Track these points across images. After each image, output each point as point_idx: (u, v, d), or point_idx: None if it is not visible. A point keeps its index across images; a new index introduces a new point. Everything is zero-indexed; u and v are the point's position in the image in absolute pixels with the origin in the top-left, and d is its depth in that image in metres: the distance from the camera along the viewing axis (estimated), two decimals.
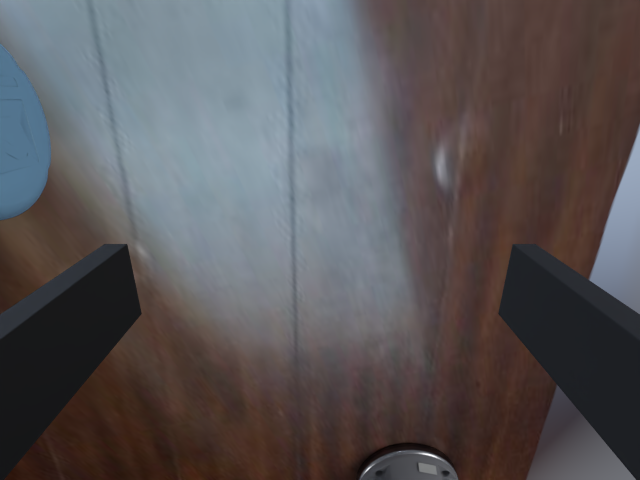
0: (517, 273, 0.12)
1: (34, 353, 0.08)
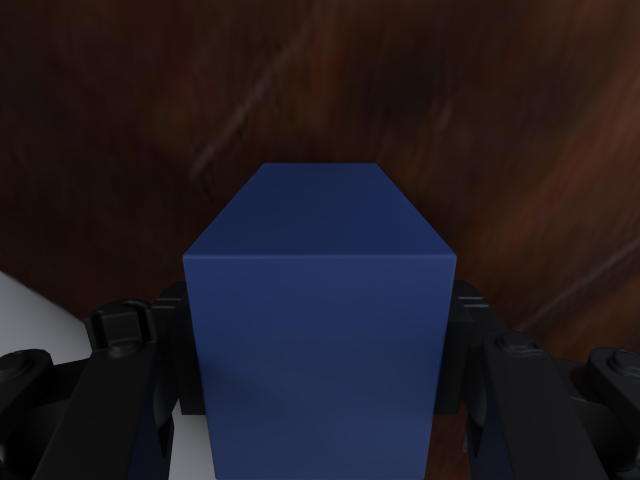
0: None
1: None
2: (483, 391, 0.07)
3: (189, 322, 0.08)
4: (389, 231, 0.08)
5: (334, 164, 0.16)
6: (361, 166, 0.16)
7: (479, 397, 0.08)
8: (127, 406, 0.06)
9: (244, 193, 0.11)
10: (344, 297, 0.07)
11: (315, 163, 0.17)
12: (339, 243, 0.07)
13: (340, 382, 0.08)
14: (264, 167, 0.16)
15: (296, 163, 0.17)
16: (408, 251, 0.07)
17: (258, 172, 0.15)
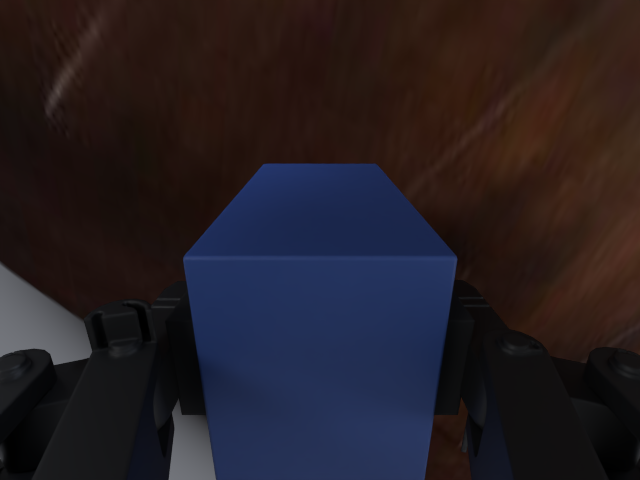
0: None
1: None
2: (483, 391, 0.07)
3: (189, 322, 0.08)
4: (390, 232, 0.08)
5: (334, 165, 0.16)
6: (361, 167, 0.16)
7: (479, 397, 0.08)
8: (127, 406, 0.06)
9: (244, 194, 0.11)
10: (345, 299, 0.07)
11: (315, 164, 0.17)
12: (339, 245, 0.07)
13: (341, 383, 0.08)
14: (264, 168, 0.16)
15: (296, 164, 0.17)
16: (408, 252, 0.07)
17: (258, 173, 0.15)
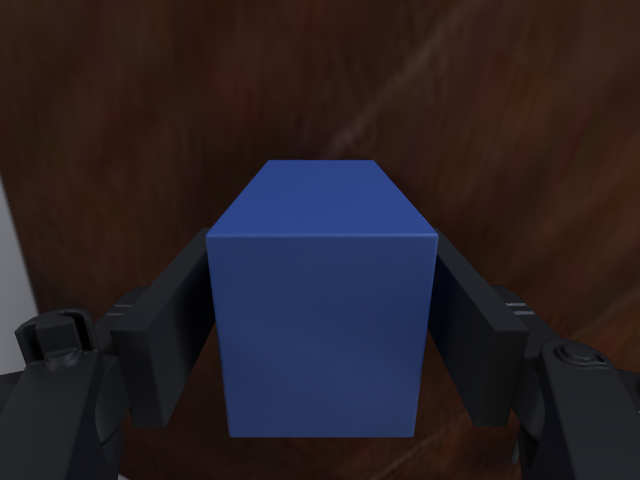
0: None
1: (183, 312, 0.10)
2: (539, 402, 0.07)
3: (134, 331, 0.08)
4: (382, 215, 0.09)
5: (334, 161, 0.18)
6: (359, 163, 0.17)
7: (534, 408, 0.07)
8: (64, 418, 0.06)
9: (253, 186, 0.13)
10: (343, 271, 0.08)
11: (316, 160, 0.18)
12: (338, 226, 0.09)
13: (340, 346, 0.09)
14: (269, 163, 0.17)
15: (299, 160, 0.18)
16: (397, 231, 0.08)
17: (264, 168, 0.16)
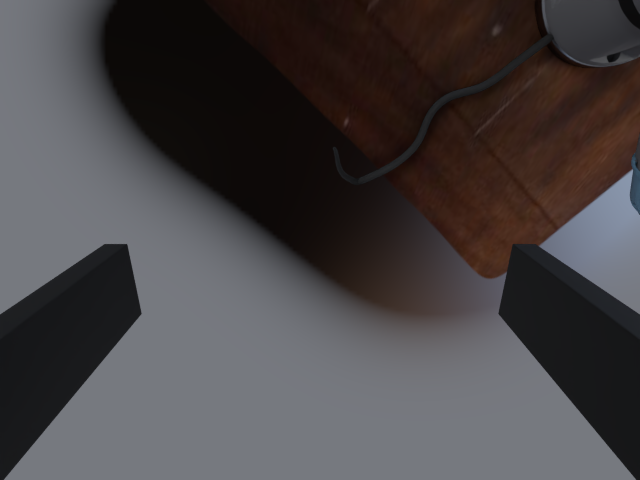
0: (517, 273, 0.12)
1: (34, 353, 0.08)
2: None
3: None
4: None
5: None
6: None
7: None
8: None
9: None
10: None
11: None
12: None
13: None
14: None
15: None
16: None
17: None
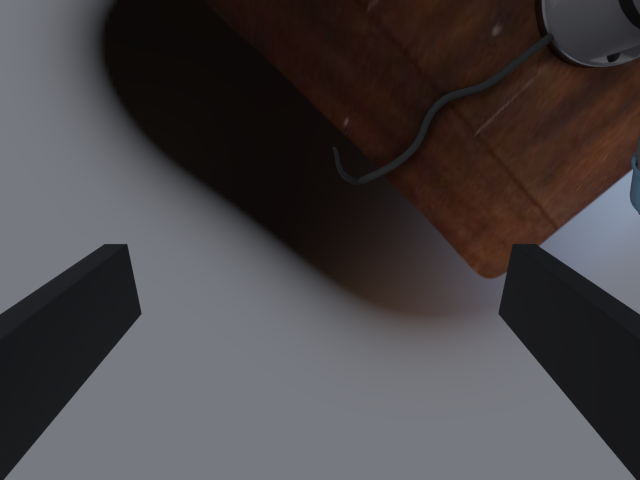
0: (517, 273, 0.12)
1: (34, 353, 0.08)
2: None
3: None
4: None
5: None
6: None
7: None
8: None
9: None
10: None
11: None
12: None
13: None
14: None
15: None
16: None
17: None
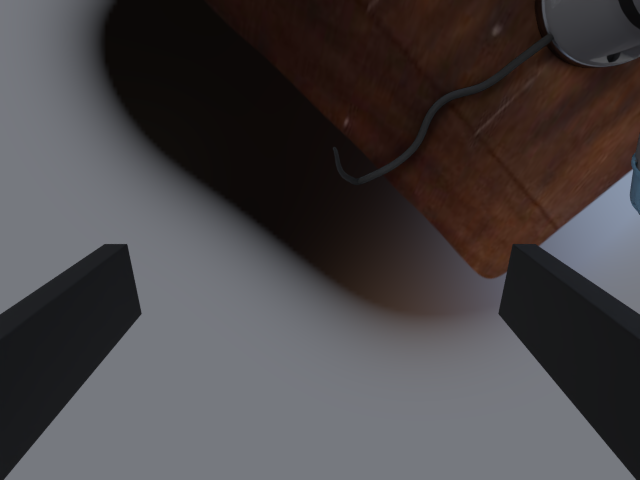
0: (517, 273, 0.12)
1: (34, 353, 0.08)
2: None
3: None
4: None
5: None
6: None
7: None
8: None
9: None
10: None
11: None
12: None
13: None
14: None
15: None
16: None
17: None
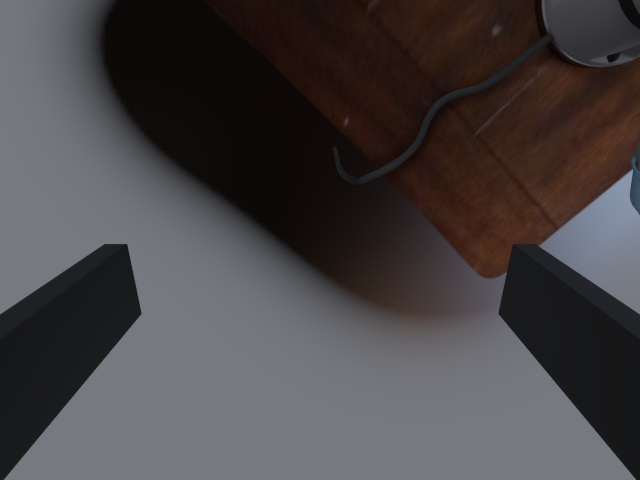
0: (517, 273, 0.12)
1: (34, 353, 0.08)
2: None
3: None
4: None
5: None
6: None
7: None
8: None
9: None
10: None
11: None
12: None
13: None
14: None
15: None
16: None
17: None
